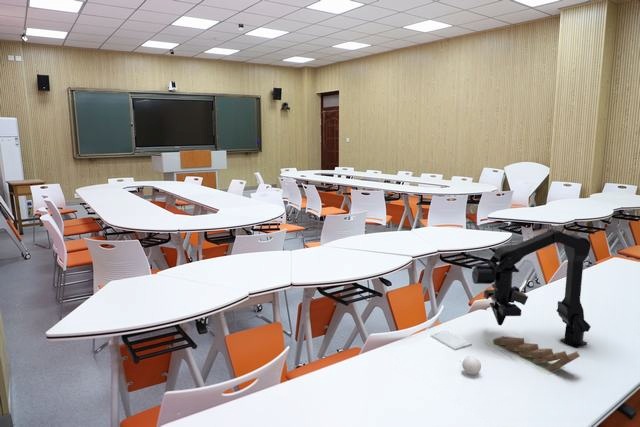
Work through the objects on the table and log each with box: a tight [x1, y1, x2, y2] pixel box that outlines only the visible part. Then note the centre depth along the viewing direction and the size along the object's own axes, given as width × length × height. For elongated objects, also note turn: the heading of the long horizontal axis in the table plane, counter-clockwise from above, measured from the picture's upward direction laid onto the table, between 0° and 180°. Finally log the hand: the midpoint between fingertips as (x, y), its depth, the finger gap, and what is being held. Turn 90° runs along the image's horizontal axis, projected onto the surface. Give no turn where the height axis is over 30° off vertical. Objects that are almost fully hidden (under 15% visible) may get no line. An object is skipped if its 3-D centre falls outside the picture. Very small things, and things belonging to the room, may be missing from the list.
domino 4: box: [533, 350, 568, 364], centre depth 145 cm, size 2×5×9 cm
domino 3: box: [519, 348, 554, 357], centre depth 149 cm, size 2×5×9 cm
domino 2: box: [506, 342, 540, 352], centre depth 154 cm, size 2×5×9 cm
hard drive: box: [430, 329, 473, 351], centre depth 164 cm, size 2×8×12 cm
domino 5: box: [547, 351, 581, 372], centre depth 141 cm, size 2×5×9 cm
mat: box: [484, 339, 566, 375], centre depth 154 cm, size 9×25×1 cm, turn 29°
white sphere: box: [459, 355, 482, 376], centre depth 142 cm, size 8×6×6 cm
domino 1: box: [492, 336, 526, 346], centre depth 159 cm, size 2×5×9 cm
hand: (499, 324), depth 161 cm, fingers closed
